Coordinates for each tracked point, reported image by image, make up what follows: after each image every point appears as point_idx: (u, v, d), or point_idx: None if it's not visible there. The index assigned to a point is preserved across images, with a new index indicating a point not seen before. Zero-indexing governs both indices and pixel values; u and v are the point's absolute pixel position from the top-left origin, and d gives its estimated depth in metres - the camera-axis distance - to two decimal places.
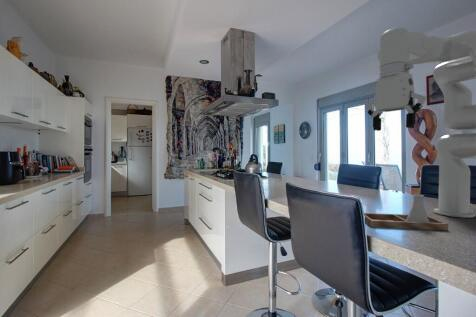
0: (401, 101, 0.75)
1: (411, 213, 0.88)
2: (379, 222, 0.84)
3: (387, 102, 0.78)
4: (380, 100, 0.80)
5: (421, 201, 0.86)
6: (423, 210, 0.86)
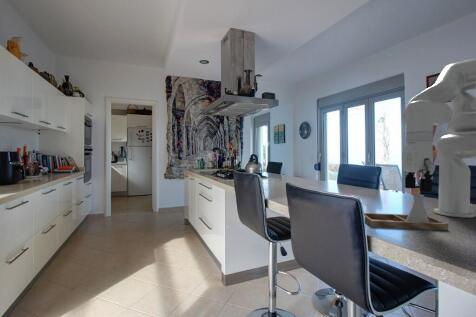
0: None
1: (411, 213, 0.88)
2: (379, 222, 0.84)
3: None
4: None
5: (421, 201, 0.86)
6: (423, 210, 0.86)
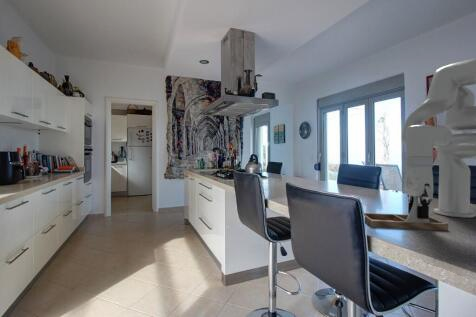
0: None
1: (411, 213, 0.88)
2: (379, 222, 0.84)
3: None
4: None
5: None
6: None
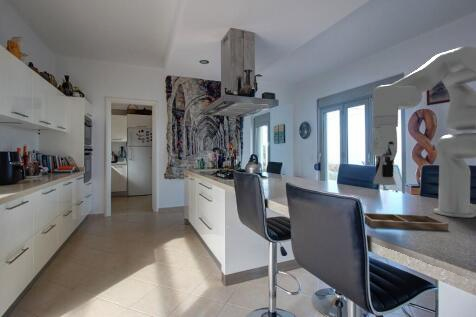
0: None
1: (377, 173, 0.89)
2: (379, 222, 0.84)
3: None
4: None
5: None
6: None
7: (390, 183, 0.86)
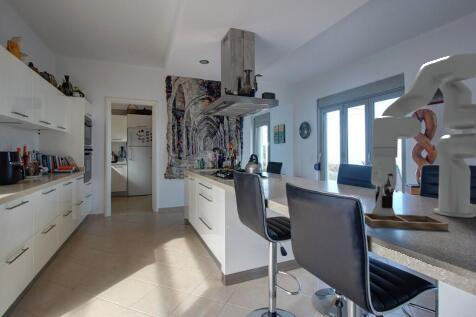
0: None
1: (377, 203, 0.89)
2: (379, 222, 0.84)
3: None
4: None
5: None
6: None
7: (389, 214, 0.86)
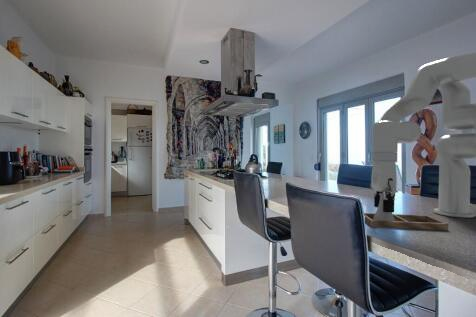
0: None
1: (377, 211, 0.89)
2: (379, 222, 0.84)
3: None
4: None
5: None
6: None
7: None
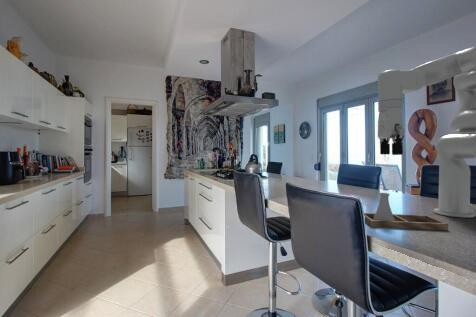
0: None
1: (377, 211, 0.89)
2: (379, 222, 0.84)
3: None
4: None
5: (386, 199, 0.88)
6: (388, 208, 0.88)
7: None
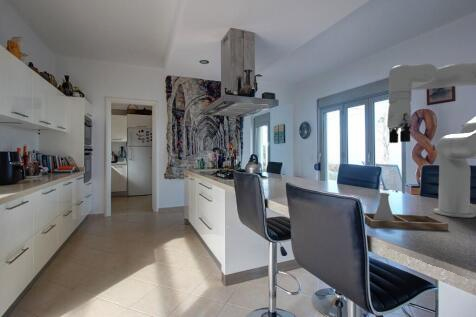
0: None
1: (377, 211, 0.89)
2: (379, 222, 0.84)
3: None
4: None
5: (386, 199, 0.88)
6: (388, 208, 0.88)
7: None
